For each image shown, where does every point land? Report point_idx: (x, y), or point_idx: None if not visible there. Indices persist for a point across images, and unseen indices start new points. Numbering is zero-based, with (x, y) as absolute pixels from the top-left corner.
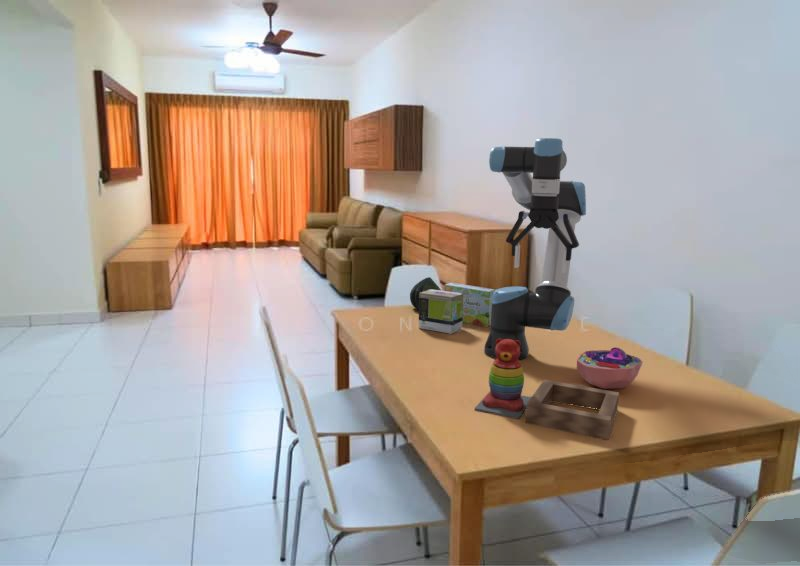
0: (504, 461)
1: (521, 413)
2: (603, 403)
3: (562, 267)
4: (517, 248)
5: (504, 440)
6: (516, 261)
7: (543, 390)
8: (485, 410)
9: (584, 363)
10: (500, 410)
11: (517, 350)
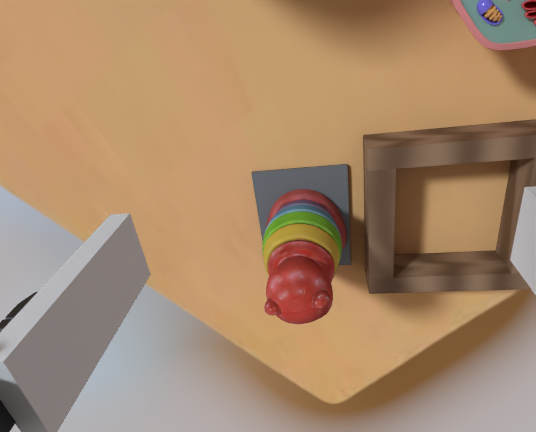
0: (372, 374)
1: (349, 249)
2: None
3: (533, 288)
4: (64, 409)
5: (353, 331)
6: (125, 310)
7: (383, 216)
8: None
9: (480, 24)
10: None
11: (329, 308)
